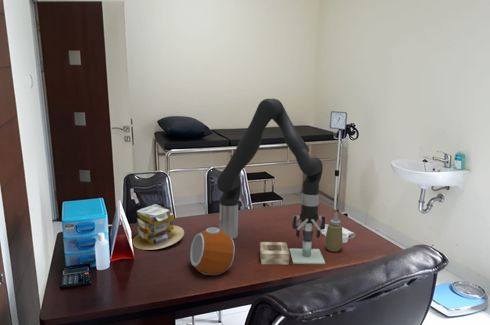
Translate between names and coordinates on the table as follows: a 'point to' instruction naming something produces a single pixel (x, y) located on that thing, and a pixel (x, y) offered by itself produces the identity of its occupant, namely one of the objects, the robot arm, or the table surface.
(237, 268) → the table surface
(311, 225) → the steel peg
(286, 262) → the eye block
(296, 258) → the sage mat
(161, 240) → the package stack on board
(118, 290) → the table surface
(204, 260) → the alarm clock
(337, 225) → the squeeze bottle
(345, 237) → the white brass knuckles
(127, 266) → the table surface
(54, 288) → the table surface
